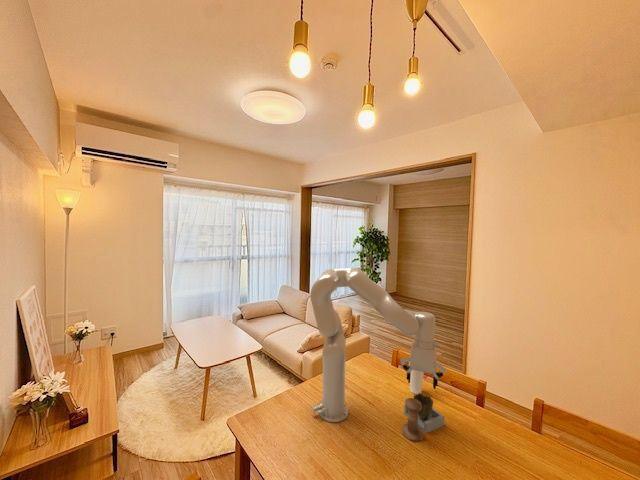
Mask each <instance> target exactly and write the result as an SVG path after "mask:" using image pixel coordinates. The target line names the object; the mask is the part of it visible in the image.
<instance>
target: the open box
mask: <svg viewBox="0 0 640 480" xmlns="http://www.w3.org/2000/svg"><path fill="white" fill-rule="evenodd" d="M403 414H404V415H405V416H407V417H408V409H407V408H406V406H405V404H404V405H403ZM445 418H446V417H445V416H444V414H442V413H441V412H439V411H438V410H437V409H435V408H434V407H433V406H432V412H431V414H430V416H428V418H427V419H426V420H422V419H420V418H419V416H418V426H419V427H420V428H421V429H422V431H423V432H424V433H425V434H427V433H430V432H432V431H435V430H437V429H441V428H442V427H444V426H445Z"/></svg>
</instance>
